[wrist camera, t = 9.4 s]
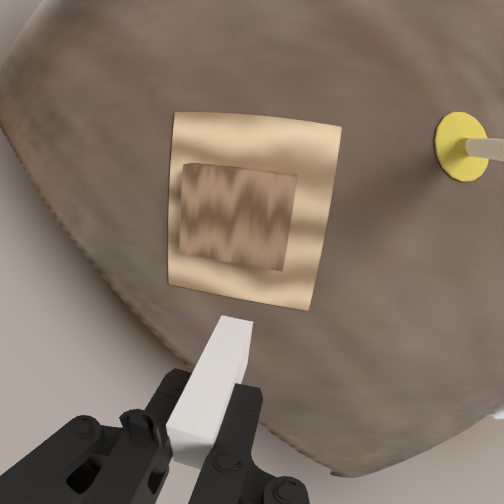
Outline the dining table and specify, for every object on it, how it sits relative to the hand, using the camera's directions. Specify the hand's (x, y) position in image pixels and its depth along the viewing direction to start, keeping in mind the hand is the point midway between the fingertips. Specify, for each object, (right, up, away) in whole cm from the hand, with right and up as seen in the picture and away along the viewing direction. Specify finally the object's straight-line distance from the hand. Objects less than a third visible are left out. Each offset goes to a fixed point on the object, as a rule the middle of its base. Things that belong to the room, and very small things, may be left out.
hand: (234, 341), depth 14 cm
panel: (+6, +8, +22) cm, 24 cm away
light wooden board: (0, +10, +25) cm, 27 cm away
